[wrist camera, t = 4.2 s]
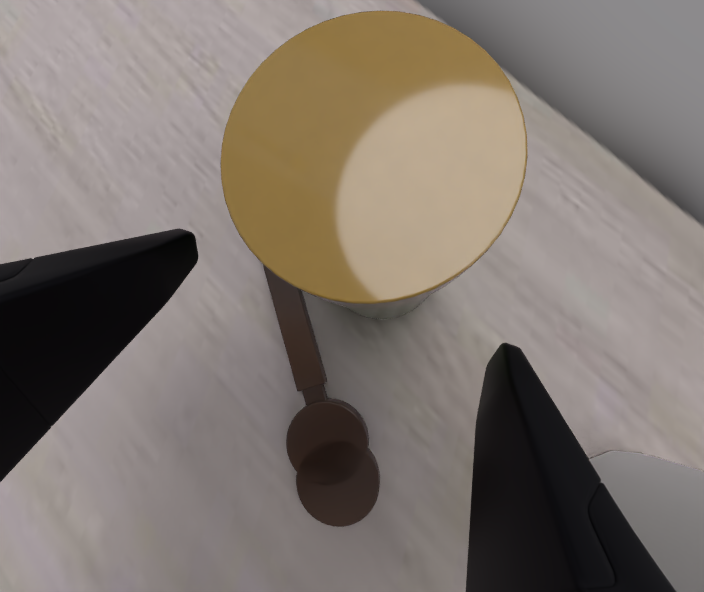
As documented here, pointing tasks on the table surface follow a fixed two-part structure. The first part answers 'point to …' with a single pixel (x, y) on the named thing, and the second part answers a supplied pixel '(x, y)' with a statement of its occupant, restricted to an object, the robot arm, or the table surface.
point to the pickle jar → (374, 159)
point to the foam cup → (661, 511)
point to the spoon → (323, 425)
